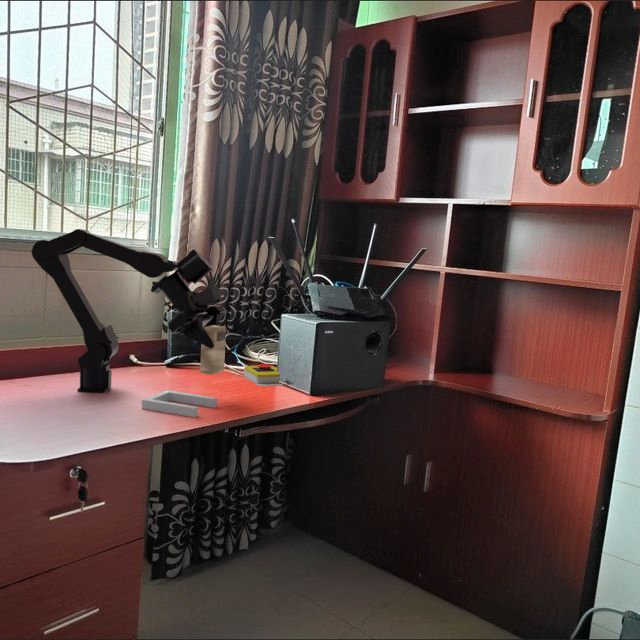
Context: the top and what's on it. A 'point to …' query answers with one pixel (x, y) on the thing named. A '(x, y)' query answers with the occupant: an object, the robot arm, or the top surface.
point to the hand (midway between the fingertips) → (218, 345)
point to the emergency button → (262, 375)
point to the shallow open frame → (161, 404)
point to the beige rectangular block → (213, 351)
